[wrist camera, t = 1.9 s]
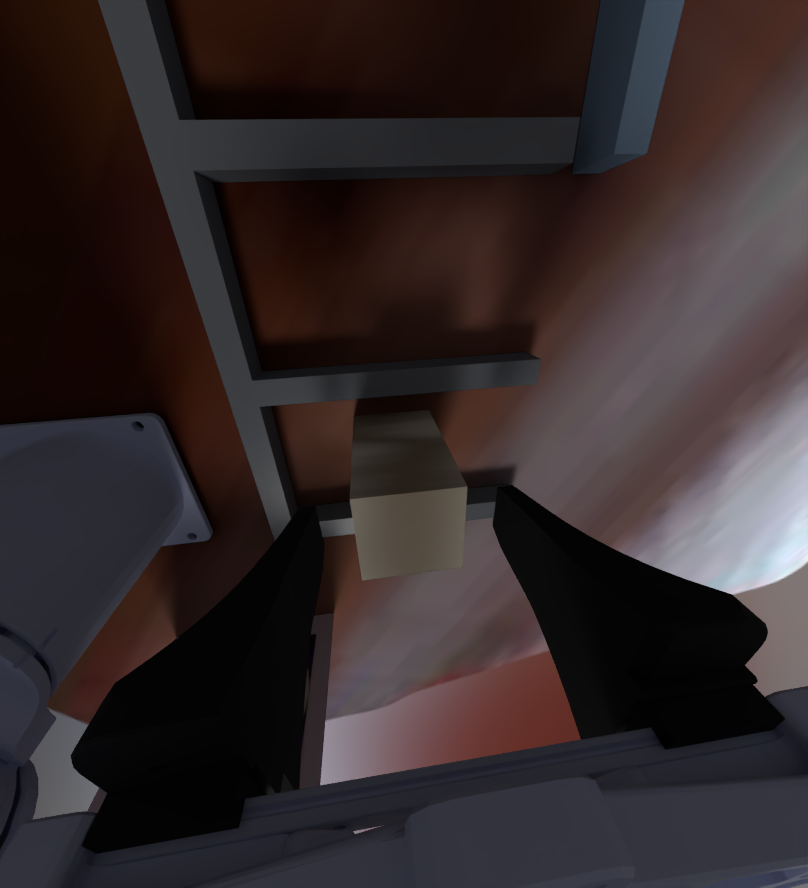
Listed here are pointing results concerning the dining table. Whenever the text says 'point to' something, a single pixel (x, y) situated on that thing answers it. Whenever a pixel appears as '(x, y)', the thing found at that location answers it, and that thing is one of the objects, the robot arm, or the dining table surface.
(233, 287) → the divided bay frame
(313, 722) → the greeting card
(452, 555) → the plug block
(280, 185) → the dining table surface
